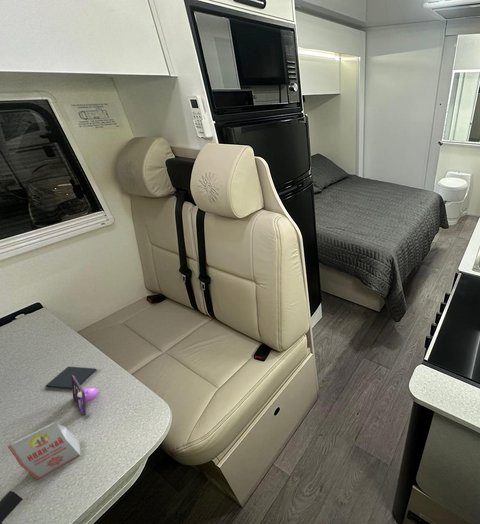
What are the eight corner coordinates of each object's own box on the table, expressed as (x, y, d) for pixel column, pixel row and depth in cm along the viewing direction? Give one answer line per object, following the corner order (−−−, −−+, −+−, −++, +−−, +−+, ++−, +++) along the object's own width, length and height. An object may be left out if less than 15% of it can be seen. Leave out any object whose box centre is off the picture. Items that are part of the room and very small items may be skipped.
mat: (46, 386, 77) (45, 385, 77) (69, 367, 82) (68, 366, 82) (75, 389, 76) (74, 387, 76) (96, 369, 81) (96, 368, 81)
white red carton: (37, 465, 60) (8, 439, 55) (79, 442, 64) (55, 415, 59) (37, 480, 57) (6, 453, 52) (80, 455, 61) (55, 428, 56)
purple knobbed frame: (67, 376, 71) (78, 394, 67) (94, 368, 76) (106, 384, 71) (68, 398, 73) (79, 418, 68) (95, 389, 77) (106, 407, 73)
